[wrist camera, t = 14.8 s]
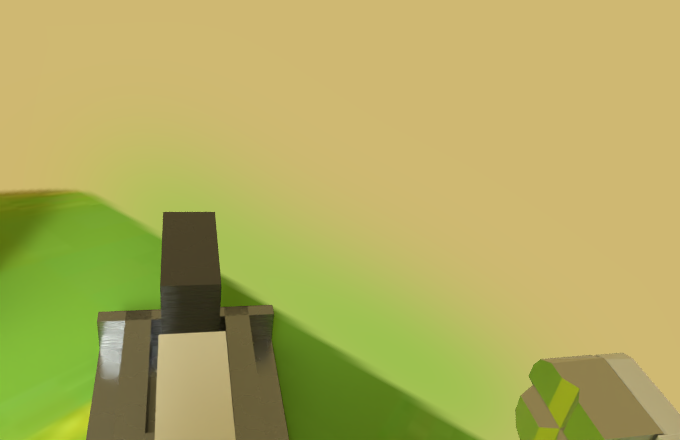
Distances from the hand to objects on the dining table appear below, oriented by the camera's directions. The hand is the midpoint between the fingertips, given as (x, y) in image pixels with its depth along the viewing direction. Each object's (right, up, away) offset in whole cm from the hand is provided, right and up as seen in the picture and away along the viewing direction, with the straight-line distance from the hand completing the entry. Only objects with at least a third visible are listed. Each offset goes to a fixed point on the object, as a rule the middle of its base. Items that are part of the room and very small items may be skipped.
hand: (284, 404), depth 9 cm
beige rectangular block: (-7, -14, +22) cm, 27 cm away
